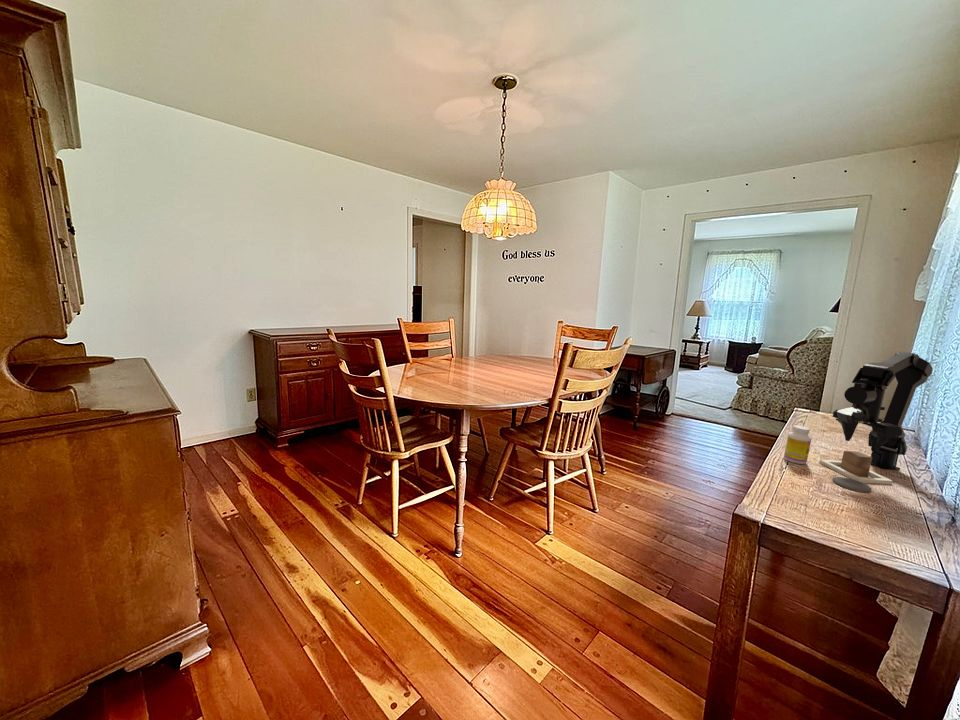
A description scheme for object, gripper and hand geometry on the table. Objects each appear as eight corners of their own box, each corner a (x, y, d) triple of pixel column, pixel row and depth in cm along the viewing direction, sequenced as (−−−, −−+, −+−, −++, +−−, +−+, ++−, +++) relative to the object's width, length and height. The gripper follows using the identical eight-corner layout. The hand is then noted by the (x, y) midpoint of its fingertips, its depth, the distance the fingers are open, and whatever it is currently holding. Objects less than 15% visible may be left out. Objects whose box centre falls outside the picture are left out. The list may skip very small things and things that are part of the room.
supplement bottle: (807, 466, 137) (814, 432, 135) (783, 461, 141) (790, 427, 139) (805, 460, 142) (812, 427, 140) (783, 455, 146) (789, 423, 144)
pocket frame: (849, 464, 141) (850, 461, 141) (891, 484, 126) (892, 480, 126) (819, 462, 141) (819, 459, 141) (858, 482, 126) (858, 478, 126)
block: (853, 470, 136) (858, 451, 135) (867, 476, 131) (872, 457, 130) (839, 469, 136) (843, 450, 135) (853, 476, 131) (857, 456, 130)
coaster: (852, 479, 128) (852, 477, 128) (879, 493, 119) (880, 491, 119) (825, 477, 128) (825, 476, 128) (850, 491, 119) (850, 489, 119)
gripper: (821, 393, 138) (813, 434, 141) (873, 408, 120) (862, 456, 123) (853, 395, 138) (844, 436, 141) (909, 410, 120) (897, 457, 123)
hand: (859, 445), depth 132 cm, fingers open, 9 cm apart
